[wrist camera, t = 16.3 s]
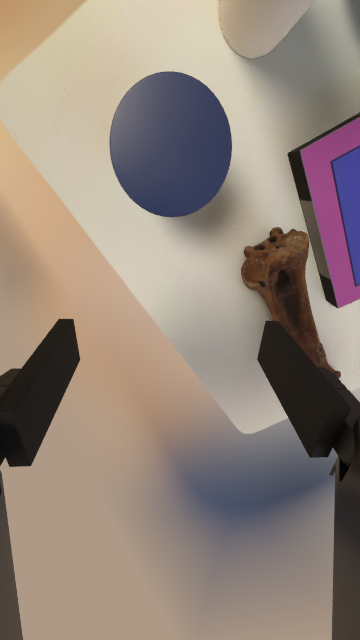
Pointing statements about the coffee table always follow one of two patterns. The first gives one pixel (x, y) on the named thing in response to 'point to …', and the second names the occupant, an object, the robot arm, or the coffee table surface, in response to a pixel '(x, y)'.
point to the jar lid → (170, 144)
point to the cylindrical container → (258, 23)
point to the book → (332, 206)
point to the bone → (286, 287)
